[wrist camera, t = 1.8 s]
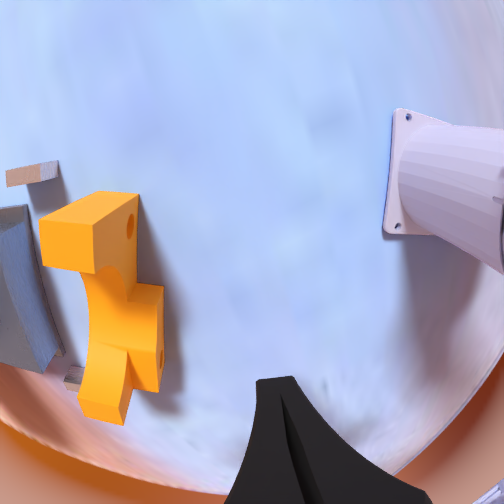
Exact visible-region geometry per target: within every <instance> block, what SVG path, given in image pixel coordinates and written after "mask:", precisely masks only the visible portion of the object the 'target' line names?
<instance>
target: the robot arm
mask: <svg viewBox="0 0 504 504" xmlns="http://www.w3.org/2000/svg"><path fill="white" fill-rule="evenodd" d="M406 114H407V115H408V118H409V119H408V121H407V120H406ZM397 223H398V227H397V228H396V229H395V225H396V224H397ZM383 229H384V230H385V231H386V232H387V233H389V234H412V235H437V236H439V237H440V238H442V239H444V240H446V241H448V242H450V243H451V244H453V245H455V246H457V247H458V248H460V249H462V250H463V251H465V252H467V253H469V254H470V255H472V256H474V257H475V258H477V259H479V260H480V261H482V262H483V263H485V264H487V265H488V266H490V267H491V268H493V269H495V270H496V271H498V272H499V273H501V274H502V275H504V129H496V128H486V127H473V126H455V125H452V124H450V123H447V122H444V121H441V120H439V119H436V118H433V117H430V116H427V115H424V114H420V113H417V112H414V111H411V110H407V109H404V108H397V109H395V110H394V112H393V130H392V148H391V162H390V173H389V183H388V192H387V200H386V208H385V215H384V221H383ZM224 504H433V503H432V501H431V500H430V498H429V497H428V495H427V494H426V493H425V491H423V490H421V489H418V488H416V487H414V486H411V485H409V484H407V483H405V482H403V481H401V480H399V479H397V478H395V477H394V476H392V475H390V474H388V473H387V472H385V471H383V470H382V469H380V468H379V467H377V466H376V465H374V464H373V463H371V462H370V461H368V460H367V459H366V458H364V457H363V456H362V455H361V454H359V453H358V452H357V451H356V450H354V449H353V448H352V447H351V446H350V445H349V444H347V443H346V442H345V441H344V440H343V439H342V438H341V437H340V436H339V435H338V434H337V433H336V432H335V431H334V430H333V429H332V428H331V427H330V426H329V425H328V423H327V422H326V421H325V420H324V419H323V418H322V416H321V415H320V414H319V413H318V412H317V410H316V409H315V408H314V407H313V405H312V404H311V403H310V401H309V400H308V399H307V397H306V396H305V394H304V393H303V391H302V390H301V388H300V387H299V385H298V384H297V382H296V380H295V378H294V377H293V376H285V377H277V378H268V379H259V380H258V381H256V411H255V416H254V422H253V427H252V432H251V435H250V439H249V443H248V447H247V450H246V453H245V456H244V459H243V462H242V465H241V467H240V470H239V473H238V475H237V477H236V480H235V482H234V484H233V487H232V489H231V491H230V493H229V495H228V497H227V499H226V501H225V502H224ZM472 504H504V479H502V480H501V481H500V482H499V483H497V484H496V485H495V486H494V487H492V488H491V489H490V490H488V491H487V492H486V493H485V494H483V495H482V496H481V497H480V498H479V499H477V500H476V501H475V502H473V503H472Z"/></svg>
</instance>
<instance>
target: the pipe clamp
mask: <svg viewBox="0 0 504 504" xmlns="http://www.w3.org/2000/svg"><path fill="white" fill-rule="evenodd" d="M138 204H139V194H134V193H121V192H108V191H97V192H95V193H93V194H90V195H88V196H86V197H84V198H82V199H79V200H77V201H75V202H73V203H71V204H69V205H67V206H65V207H62V208H60V209H58V210H56V211H54V212H52V213H50V214H48V215H46V216H45V217H43V218H41V219H39V234H40V245H41V254H42V263H43V266H48V267H54V268H60V269H66V270H72V271H78V272H79V273H80V274H81V277H82V279H83V282H84V285H85V289H86V294H87V299H88V308H89V345H88V354H87V361H86V367H85V372H84V376H83V380H82V384H81V387H80V390H79V393H78V395H77V399H78V401H79V404H80V406H81V409H82V411H83V413H84V416H85V417H89V418H93V419H96V420H100V421H104V422H109V423H113V424H117V425H122V426H124V422H125V418H126V414H127V410H128V406H129V402H130V399H131V395H132V391H133V389H138V390H144V391H151V392H157V393H159V388H160V383H161V378H162V373H163V368H164V363H165V359H164V286H159V285H151V284H143V283H137V225H138Z"/></svg>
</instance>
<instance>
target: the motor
mask: <svg viewBox="0 0 504 504" xmlns="http://www.w3.org/2000/svg"><path fill="white" fill-rule="evenodd" d="M55 177H58V160H56V161H51V162H45V163H40V164H34V165H29V166H24V167H20V168H16V169H11V170H7V171H6V183H7V187H11V186H17V185H23V184H29V183H35V182H41V181H45V180H48V179H51V178H55ZM64 354H65V350H64V347H63V345H62V342H61V339H60V337H59V334H58V331H57V329H56V326H55V323H54V320H53V317H52V314H51V311H50V308H49V305H48V301H47V298H46V295H45V291H44V287H43V284H42V280H41V276H40V272H39V268H38V264H37V259H36V255H35V250H34V245H33V240H32V234H31V228H30V222H29V215H28V207H27V204H24V205H16V206H8V207H1V208H0V362H1V363H4V364H8V365H11V366H14V367H18V368H21V369H25V370H29V371H33V372H37V373H41V374H43V373H44V371H45V369H46V367H47V366H48V364H49V362H50V361H51V359H52V358H53V356H54V355H55V356H61V357H63V356H64ZM84 372H85V368H82V367H76V366H71V367H70V369H69V371H68V373H67V375H66V377H65V379H64V381H63V383H64V384H65V386H66V388H67V390H70V391H75V392H79V390H80V387H81V384H82V380H83V376H84Z"/></svg>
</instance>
